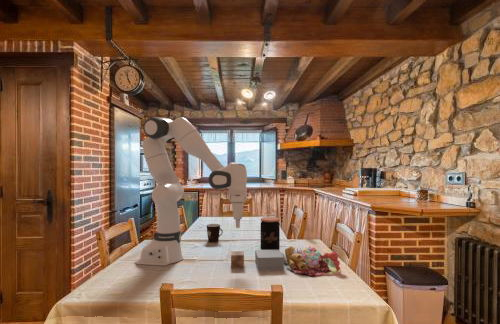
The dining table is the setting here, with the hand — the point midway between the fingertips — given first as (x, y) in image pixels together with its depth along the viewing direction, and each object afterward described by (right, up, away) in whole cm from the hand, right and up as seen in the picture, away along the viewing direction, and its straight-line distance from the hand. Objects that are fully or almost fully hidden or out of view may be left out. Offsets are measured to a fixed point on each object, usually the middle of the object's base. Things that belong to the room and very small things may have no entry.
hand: (237, 225), depth 134 cm
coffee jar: (+17, -20, +23) cm, 35 cm away
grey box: (+15, -19, 0) cm, 24 cm away
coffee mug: (-17, -20, +42) cm, 49 cm away
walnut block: (0, -19, 0) cm, 19 cm away
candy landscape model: (+35, -20, -1) cm, 40 cm away
